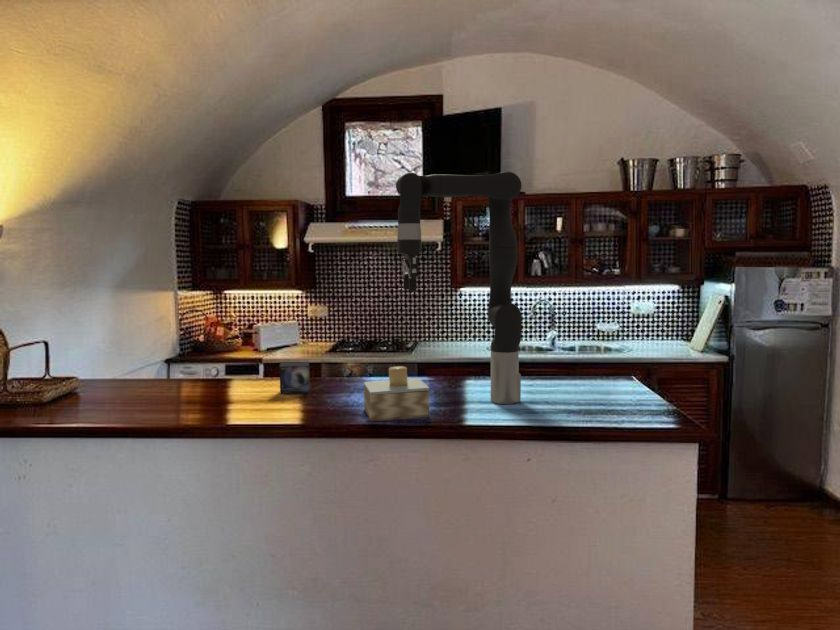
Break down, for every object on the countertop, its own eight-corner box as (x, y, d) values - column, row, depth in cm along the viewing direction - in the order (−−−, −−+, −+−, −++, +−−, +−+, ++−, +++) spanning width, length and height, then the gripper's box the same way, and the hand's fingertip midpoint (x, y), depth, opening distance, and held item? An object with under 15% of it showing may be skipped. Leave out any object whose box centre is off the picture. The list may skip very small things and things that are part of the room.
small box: (279, 395, 211) (278, 366, 209) (280, 391, 217) (279, 362, 216) (310, 393, 213) (309, 364, 212) (309, 389, 219) (309, 361, 218)
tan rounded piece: (406, 381, 188) (405, 365, 188) (408, 385, 183) (407, 369, 182) (388, 382, 188) (387, 367, 187) (390, 387, 182) (389, 371, 181)
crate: (418, 405, 195) (418, 381, 194) (429, 417, 181) (429, 391, 180) (364, 409, 191) (363, 384, 190) (370, 421, 177) (370, 395, 176)
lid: (418, 380, 194) (418, 377, 194) (429, 390, 180) (429, 387, 180) (363, 384, 190) (363, 382, 190) (370, 395, 176) (370, 392, 176)
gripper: (426, 237, 180) (426, 291, 182) (416, 238, 194) (416, 288, 196) (402, 238, 178) (402, 291, 180) (393, 239, 192) (394, 289, 194)
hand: (409, 290), depth 188 cm, fingers open, 8 cm apart
